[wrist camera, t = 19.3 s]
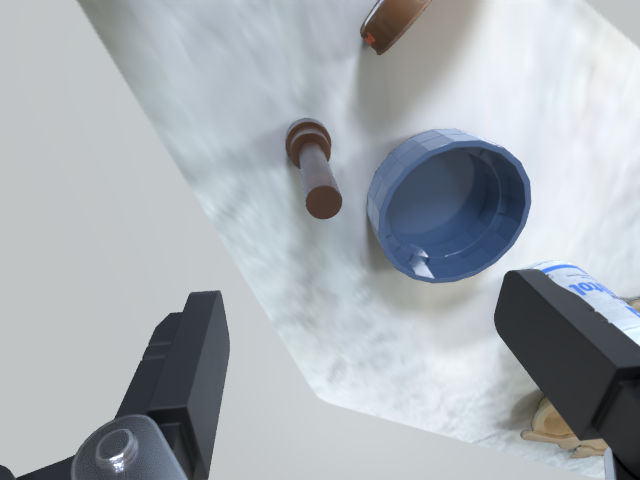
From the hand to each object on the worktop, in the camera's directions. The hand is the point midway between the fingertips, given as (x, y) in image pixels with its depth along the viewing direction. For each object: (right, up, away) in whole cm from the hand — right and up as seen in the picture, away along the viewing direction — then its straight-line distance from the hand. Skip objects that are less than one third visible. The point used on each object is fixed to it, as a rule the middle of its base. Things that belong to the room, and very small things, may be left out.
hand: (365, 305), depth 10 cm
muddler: (-3, +12, +26) cm, 29 cm away
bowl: (+11, +7, +31) cm, 33 cm away
